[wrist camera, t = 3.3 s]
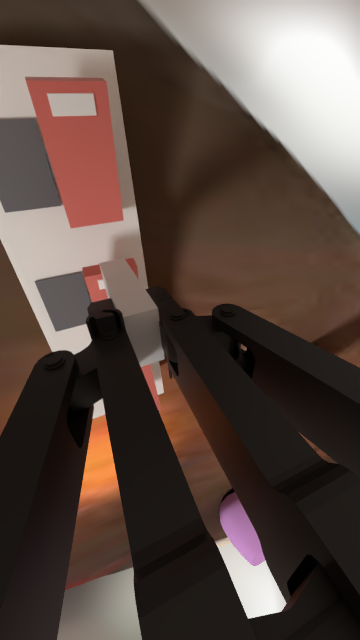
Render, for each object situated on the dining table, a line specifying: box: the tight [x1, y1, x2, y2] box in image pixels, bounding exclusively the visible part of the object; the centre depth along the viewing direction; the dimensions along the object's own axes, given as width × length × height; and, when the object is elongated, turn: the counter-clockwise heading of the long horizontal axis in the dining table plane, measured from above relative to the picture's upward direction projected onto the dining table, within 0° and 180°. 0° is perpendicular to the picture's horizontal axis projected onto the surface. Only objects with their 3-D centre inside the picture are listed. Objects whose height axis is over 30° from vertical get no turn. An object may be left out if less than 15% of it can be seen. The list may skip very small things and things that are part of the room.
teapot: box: [220, 492, 265, 566], centre depth 64 cm, size 23×21×15 cm
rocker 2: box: [82, 258, 139, 302], centre depth 19 cm, size 3×7×1 cm, turn 4°
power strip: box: [0, 45, 164, 419], centre depth 23 cm, size 9×35×5 cm, turn 4°
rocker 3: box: [141, 364, 161, 411], centre depth 24 cm, size 3×7×1 cm, turn 4°
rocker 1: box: [25, 77, 124, 228], centre depth 14 cm, size 3×7×1 cm, turn 4°
